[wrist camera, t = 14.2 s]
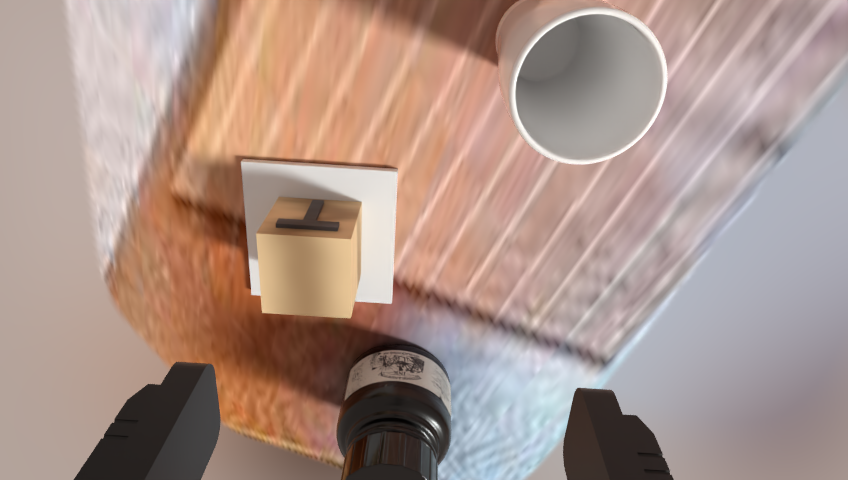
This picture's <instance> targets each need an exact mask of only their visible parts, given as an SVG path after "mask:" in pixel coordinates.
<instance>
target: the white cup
mask: <svg viewBox="0 0 848 480" xmlns="http://www.w3.org/2000/svg"><path fill="white" fill-rule="evenodd" d="M495 44H496V51H497V55H498V77H499V85H500V90H501V95H502V98H503V101H504V104H505V107H506V109H507V112H508V114H509V116H510V118H511V120H512V121H513V123H514V125H515V127H516V128H517V130H518V132H519V133H520V135H521V136H522V138H523V139H524V140H525V141H526V142H527V143H528V144H529V145H530V146H531V147H532V148H533V149H534V150H536V151H537V152H538V153H540V154H542V155H543V156H545V157H547V158H549V159H552V160H555V161H558V162H562V163H567V164H578V165H580V164H591V163H597V162H601V161H604V160H607V159H610V158H612V157H614V156H616V155H618V154H620V153H622V152H624V151H625V150H627V149H628V148H630V147H631V146H632V145H634V144H635V143H636V142H637V141H638V140H639V139H640V138H641V137H642V136H643V135H644V134H645V133H646V132H647V131H648V129H649V128H650V127H651V125H652V124H653V122H654V121H655V119H656V117H657V115H658V114H659V111H660V109H661V107H662V104H663V101H664V98H665V93H666V88H667V65H666V60H665V56H664V53H663V50H662V48H661V45H660V43H659V42H658V40H657V38H656V37H655V35H654V34H653V32H652V31H651V30H650V29H649V28H648V27H647V26H646V25H645V24H644V23H643V22H642V21H640V20H639V19H637V18H636V17H635V16H633V15H631V14H629V13H628V12H626V11H625V10H623V9H621V8H619V7H617V6H615V5H613V4H610V3H608V2H605V1H602V0H518V1H517V2H515V3H514V4H513V5H512V6H511V7H510V8H509V9H508V10H507V11H506V12H505V14H504V15H503V17H502V18H501V20H500V22H499V25H498V28H497V32H496V39H495Z"/></svg>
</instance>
